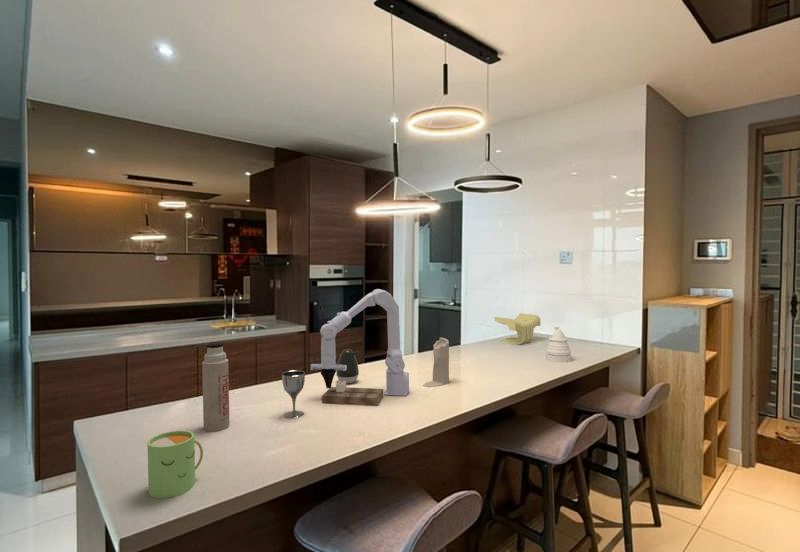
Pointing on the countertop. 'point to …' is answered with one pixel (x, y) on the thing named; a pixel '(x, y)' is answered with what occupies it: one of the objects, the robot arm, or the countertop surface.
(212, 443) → the countertop surface
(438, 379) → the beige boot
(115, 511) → the countertop surface
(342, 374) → the pump dispenser
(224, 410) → the thermos bottle
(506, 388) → the countertop surface
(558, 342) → the honey pot
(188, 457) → the mug
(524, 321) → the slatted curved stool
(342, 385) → the fader tab
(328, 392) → the fader console
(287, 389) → the silver metal goblet
